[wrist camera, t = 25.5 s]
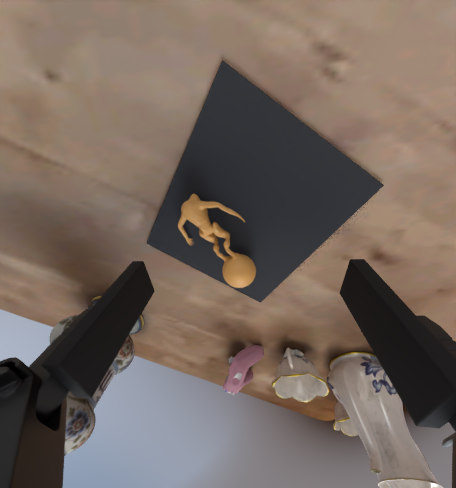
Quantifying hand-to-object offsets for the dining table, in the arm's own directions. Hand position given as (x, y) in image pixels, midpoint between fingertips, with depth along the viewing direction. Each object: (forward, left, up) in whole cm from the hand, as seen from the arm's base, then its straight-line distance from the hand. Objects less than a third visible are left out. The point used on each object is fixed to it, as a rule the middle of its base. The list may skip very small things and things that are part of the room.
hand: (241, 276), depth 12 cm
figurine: (+4, -6, -6) cm, 10 cm away
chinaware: (+31, -16, -11) cm, 37 cm away
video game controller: (+15, -24, -11) cm, 30 cm away
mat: (0, 0, -10) cm, 10 cm away
